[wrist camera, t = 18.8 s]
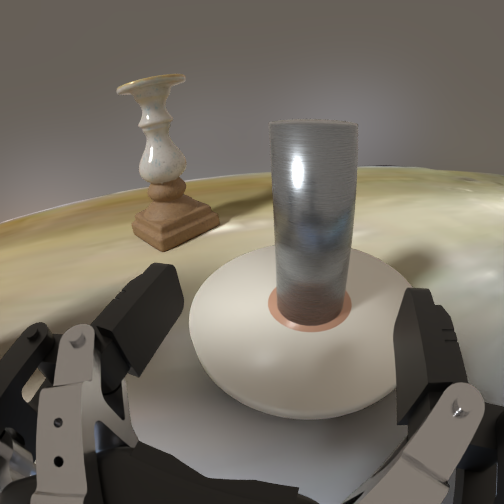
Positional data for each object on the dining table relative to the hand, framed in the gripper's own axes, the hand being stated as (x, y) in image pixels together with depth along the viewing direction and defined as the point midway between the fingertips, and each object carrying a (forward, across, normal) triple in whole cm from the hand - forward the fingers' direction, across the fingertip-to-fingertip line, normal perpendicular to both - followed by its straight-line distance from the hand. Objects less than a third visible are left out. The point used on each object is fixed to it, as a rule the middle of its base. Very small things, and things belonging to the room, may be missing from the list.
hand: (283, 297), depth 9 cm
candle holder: (+28, +23, +13) cm, 38 cm away
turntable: (+11, 0, +11) cm, 15 cm away
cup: (+11, 0, +9) cm, 14 cm away
